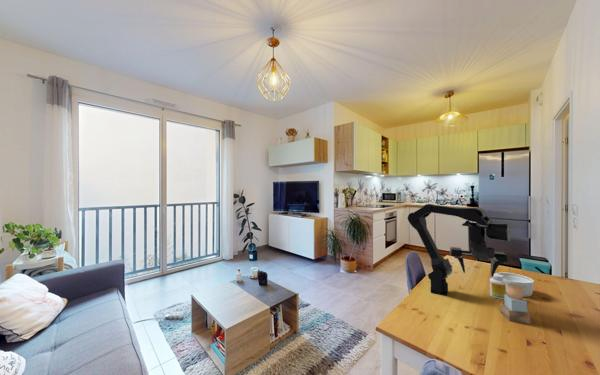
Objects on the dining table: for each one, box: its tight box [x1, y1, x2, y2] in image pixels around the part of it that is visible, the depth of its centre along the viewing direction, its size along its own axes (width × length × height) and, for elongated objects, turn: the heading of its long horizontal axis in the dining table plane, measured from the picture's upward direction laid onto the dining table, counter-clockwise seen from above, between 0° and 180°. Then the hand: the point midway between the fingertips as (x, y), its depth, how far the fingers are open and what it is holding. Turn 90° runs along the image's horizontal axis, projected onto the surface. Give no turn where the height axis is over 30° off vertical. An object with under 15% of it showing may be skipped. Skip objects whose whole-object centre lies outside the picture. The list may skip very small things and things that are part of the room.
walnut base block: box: [500, 302, 531, 325], centre depth 83 cm, size 6×6×4 cm
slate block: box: [503, 293, 528, 313], centre depth 83 cm, size 4×4×4 cm
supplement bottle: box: [489, 273, 507, 300], centre depth 100 cm, size 5×5×10 cm
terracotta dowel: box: [507, 284, 524, 300], centre depth 83 cm, size 4×4×4 cm
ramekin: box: [495, 271, 535, 298], centre depth 105 cm, size 13×13×7 cm
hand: (477, 274), depth 93 cm, fingers open, 9 cm apart
